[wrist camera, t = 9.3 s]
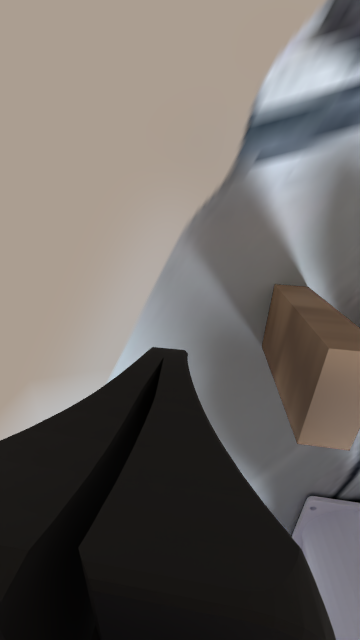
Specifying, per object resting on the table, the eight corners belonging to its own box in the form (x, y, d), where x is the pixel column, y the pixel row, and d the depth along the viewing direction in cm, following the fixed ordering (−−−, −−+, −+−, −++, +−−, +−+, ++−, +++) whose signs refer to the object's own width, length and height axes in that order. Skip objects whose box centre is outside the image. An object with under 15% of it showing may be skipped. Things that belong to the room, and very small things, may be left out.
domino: (291, 348, 15) (349, 450, 9) (261, 346, 16) (297, 443, 9) (307, 286, 14) (393, 354, 7) (274, 284, 14) (329, 348, 7)
